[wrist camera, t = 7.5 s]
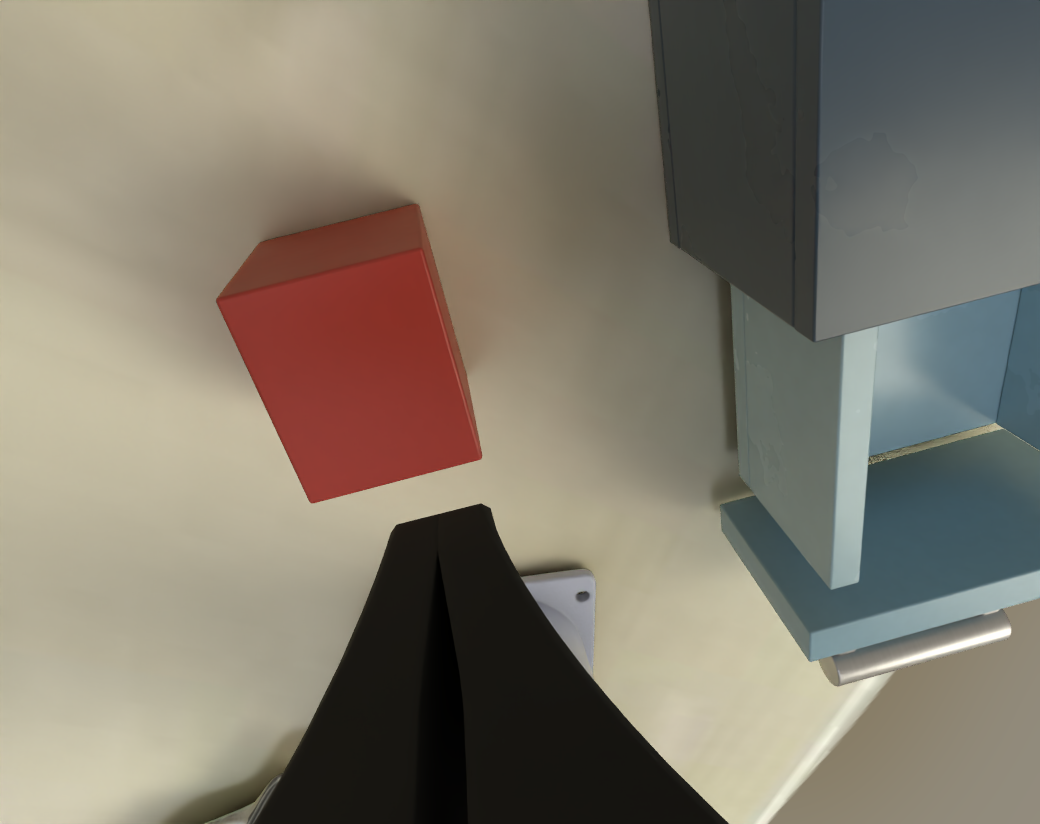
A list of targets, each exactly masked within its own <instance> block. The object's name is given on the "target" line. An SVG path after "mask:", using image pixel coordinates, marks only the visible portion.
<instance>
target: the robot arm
mask: <svg viewBox="0 0 1040 824" xmlns="http://www.w3.org/2000/svg"><path fill="white" fill-rule="evenodd" d="M581 591H585V592H584V593H582V594H578V593H579V592H581ZM595 600H596V581H595V578H594V575H593V573H592V572H591V571H590V570H587V569H576V570H568V571H561V572H553V573H546V574H538V575H531V576H523V577H520V575H519V573H518V572H517V570H516V568H515V567H514V565H513V563H512V561H511V559H510V557H509V555H508V553H507V551H506V550H505V548H504V545H503V543H502V541H501V539H500V537H499V534H498V532H497V530H496V526H495V523H494V519H493V516H492V512H491V508H489V507H487V506H485V505H483V504H477V505H473V506H469V507H465V508H461V509H457V510H453V511H449V512H445V513H441V514H437V515H433V516H429V517H425V518H421V519H417V520H413V521H409V522H406V523H402V524H398V525H396V526H395V528H394V529H393V531H392V532H391V535H390V538H389V541H388V544H387V547H386V550H385V553H384V556H383V559H382V561H381V564H380V567H379V570H378V572H377V575H376V578H375V581H374V583H373V586H372V588H371V591H370V593H369V596H368V598H367V601H366V604H365V606H364V608H363V611H362V613H361V615H360V618H359V620H358V622H357V625H356V627H355V629H354V632H353V634H352V636H351V639H350V641H349V643H348V646H347V648H346V650H345V653H344V655H343V657H342V659H341V662H340V664H339V666H338V668H337V670H336V672H335V674H334V676H333V678H332V680H331V682H330V684H329V686H328V688H327V690H326V692H325V694H324V696H323V698H322V700H321V702H320V705H319V707H318V709H317V711H316V713H315V715H314V717H313V719H312V721H311V723H310V725H309V727H308V729H307V730H306V732H305V734H304V736H303V738H302V740H301V742H300V744H299V745H298V747H297V749H296V751H295V753H294V755H293V756H292V758H291V760H290V762H289V764H288V765H287V767H286V769H285V771H284V773H283V774H282V776H281V778H280V780H279V781H278V783H277V785H276V786H275V788H274V790H273V791H272V793H271V795H270V797H269V798H268V800H267V802H266V803H265V805H264V807H263V808H262V810H261V812H260V814H259V815H258V817H257V819H256V820H255V822H254V823H253V824H729V823H728V822H727V821H726V820H725V819H724V818H722V817H721V816H720V815H719V814H718V813H717V812H716V811H715V810H714V809H713V808H712V807H711V806H710V805H709V804H708V803H707V802H706V801H705V800H704V799H703V798H702V797H701V796H700V795H699V794H698V793H697V792H696V791H695V790H694V789H693V788H692V787H691V786H690V785H689V784H688V783H687V782H686V781H685V780H684V779H683V778H682V777H681V776H680V775H679V774H678V773H677V772H676V771H675V770H674V769H673V768H672V767H671V766H670V765H669V764H668V763H667V762H666V761H665V760H664V759H663V758H662V757H661V756H660V755H659V753H658V752H657V751H656V750H655V749H654V748H653V747H652V746H651V745H650V744H649V743H648V741H647V740H646V739H645V738H644V737H643V736H642V735H641V734H640V733H639V732H638V731H637V730H636V728H635V727H634V726H633V725H632V724H631V723H630V722H629V721H628V720H627V718H626V717H625V716H624V715H623V714H622V713H621V711H620V710H619V709H618V708H617V707H616V706H615V705H614V703H613V702H612V701H611V700H610V699H609V698H608V697H607V695H606V694H605V693H604V692H603V691H602V689H601V688H600V687H599V686H598V685H597V683H596V682H595V681H594V678H593V659H594V630H595Z"/></svg>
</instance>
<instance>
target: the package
mask: <svg viewBox="0 0 1040 824" xmlns="http://www.w3.org/2000/svg"><path fill="white" fill-rule="evenodd" d="M216 303H217V305H218V307H219V309H220V311H221V313H222V316H223V318H224V320H225V322H226V324H227V326H228V328H229V331H230V333H231V335H232V337H233V339H234V341H235V343H236V346H237V348H238V350H239V352H240V354H241V356H242V358H243V361H244V363H245V365H246V367H247V369H248V371H249V373H250V376H251V378H252V380H253V382H254V384H255V386H256V388H257V391H258V393H259V395H260V397H261V399H262V401H263V403H264V405H265V408H266V410H267V412H268V414H269V416H270V418H271V420H272V423H273V425H274V427H275V429H276V431H277V433H278V435H279V438H280V440H281V442H282V444H283V446H284V448H285V450H286V453H287V455H288V457H289V459H290V461H291V463H292V465H293V468H294V470H295V472H296V474H297V476H298V478H299V480H300V483H301V485H302V487H303V489H304V491H305V493H306V495H307V498H308V500H309V502H310V503H316V502H320V501H324V500H328V499H332V498H335V497H339V496H343V495H347V494H351V493H354V492H358V491H362V490H366V489H370V488H374V487H377V486H381V485H385V484H389V483H393V482H396V481H400V480H404V479H408V478H412V477H415V476H419V475H423V474H427V473H431V472H434V471H438V470H442V469H446V468H450V467H454V466H457V465H461V464H465V463H469V462H473V461H476V460H480V459H481V458H482V451H481V446H480V441H479V436H478V431H477V426H476V420H475V415H474V410H473V405H472V400H471V395H470V390H469V385H468V380H467V375H466V372H465V368H464V365H463V361H462V357H461V354H460V350H459V347H458V343H457V339H456V336H455V332H454V329H453V325H452V321H451V318H450V314H449V311H448V307H447V304H446V300H445V296H444V293H443V289H442V286H441V282H440V278H439V275H438V271H437V268H436V264H435V260H434V257H433V253H432V250H431V246H430V242H429V239H428V235H427V232H426V228H425V225H424V221H423V217H422V214H421V210H420V207H419V205H418V204H412V205H408V206H404V207H400V208H396V209H392V210H388V211H384V212H380V213H376V214H372V215H368V216H364V217H360V218H356V219H352V220H348V221H344V222H340V223H336V224H332V225H327V226H323V227H319V228H315V229H311V230H307V231H303V232H299V233H295V234H291V235H287V236H283V237H279V238H275V239H271V240H267V241H263V242H260V243H259V244H258V245H257V246H256V248H255V249H254V250H253V252H252V253H251V254H250V256H249V257H248V258H247V259H246V261H245V262H244V263H243V265H242V266H241V267H240V269H239V270H238V271H237V273H236V274H235V275H234V276H233V278H232V279H231V280H230V282H229V283H228V284H227V286H226V287H225V288H224V290H223V291H222V292H221V293H220V295H219V296H218V297H217V299H216Z"/></svg>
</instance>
